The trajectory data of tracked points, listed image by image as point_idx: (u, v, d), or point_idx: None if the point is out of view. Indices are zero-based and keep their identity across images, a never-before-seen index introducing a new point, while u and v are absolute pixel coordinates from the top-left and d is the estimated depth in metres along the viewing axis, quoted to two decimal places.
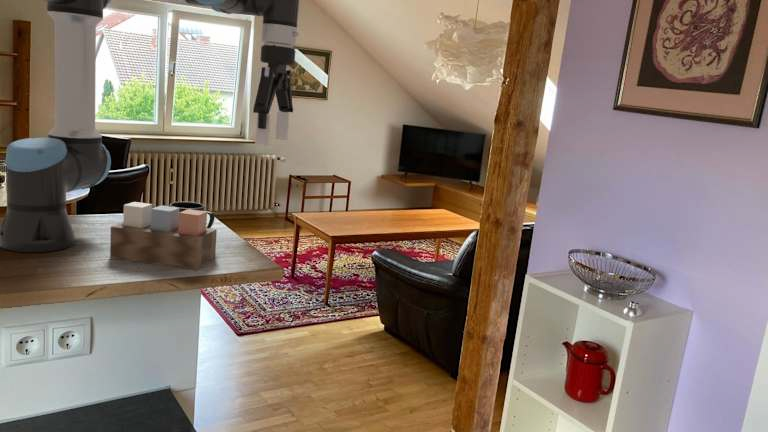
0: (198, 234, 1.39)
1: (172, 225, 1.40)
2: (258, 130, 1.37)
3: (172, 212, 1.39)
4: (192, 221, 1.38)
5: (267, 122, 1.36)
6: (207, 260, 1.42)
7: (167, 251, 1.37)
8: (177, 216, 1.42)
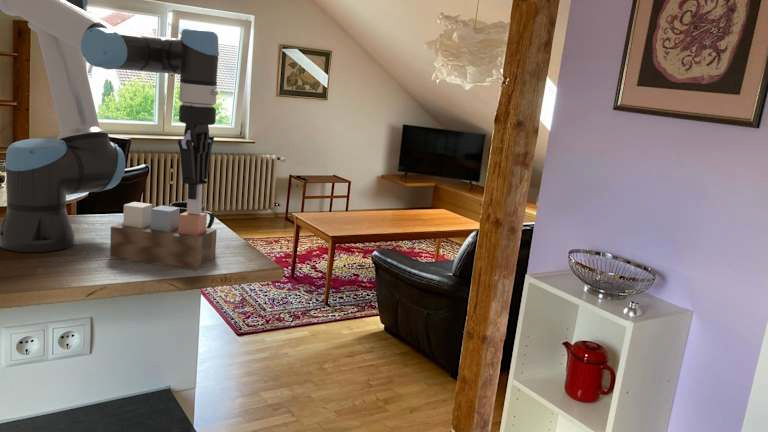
0: None
1: (172, 225, 1.40)
2: (189, 200, 1.38)
3: (172, 212, 1.39)
4: (192, 223, 1.38)
5: (197, 192, 1.38)
6: (207, 260, 1.42)
7: (167, 251, 1.37)
8: (177, 216, 1.42)
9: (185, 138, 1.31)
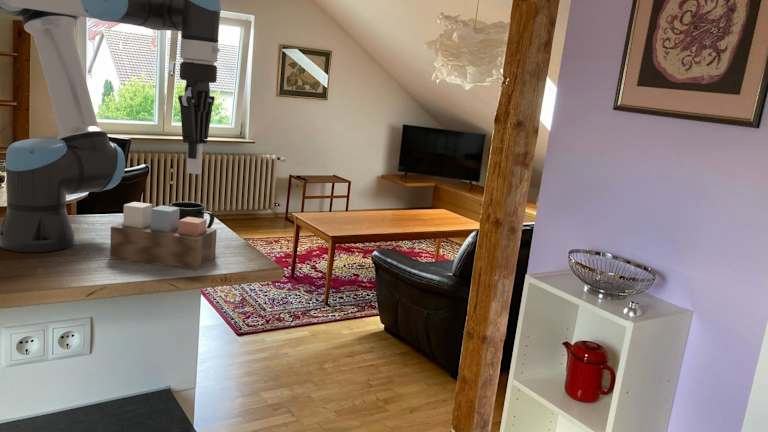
0: None
1: (172, 225, 1.40)
2: (189, 160, 1.37)
3: (172, 212, 1.39)
4: (192, 229, 1.38)
5: (197, 152, 1.36)
6: (207, 260, 1.42)
7: (167, 251, 1.37)
8: (177, 216, 1.42)
9: (186, 95, 1.29)
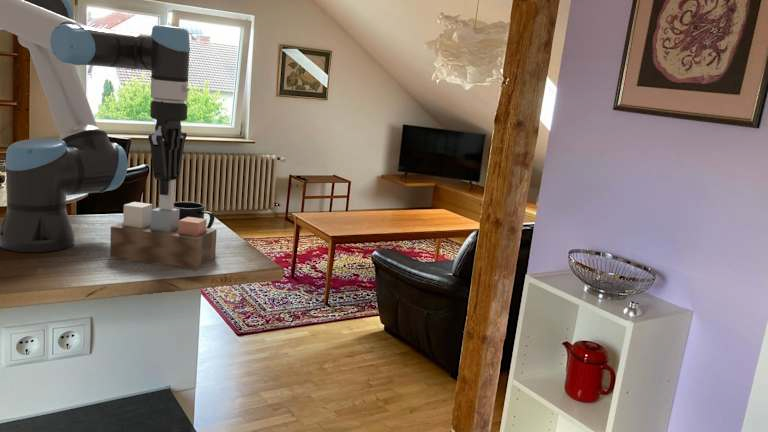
0: None
1: (172, 226, 1.40)
2: (161, 196, 1.39)
3: (172, 213, 1.39)
4: (192, 229, 1.38)
5: (169, 188, 1.39)
6: (207, 260, 1.42)
7: (167, 251, 1.37)
8: (177, 217, 1.42)
9: (156, 134, 1.32)
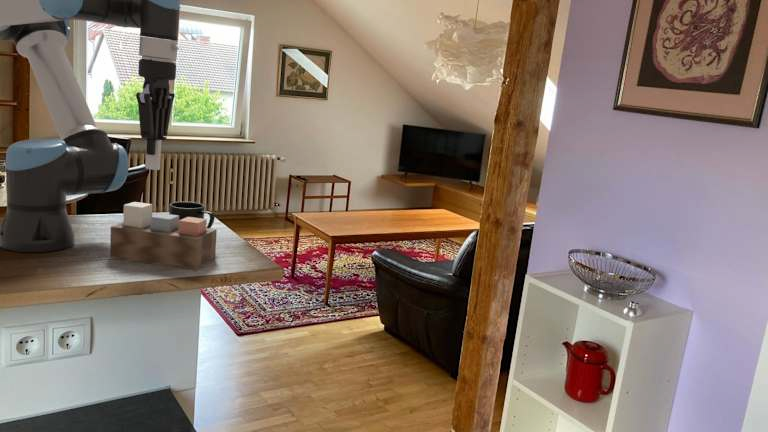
0: None
1: None
2: (147, 156, 1.38)
3: (172, 220, 1.40)
4: (192, 229, 1.38)
5: (156, 148, 1.38)
6: (207, 260, 1.42)
7: (167, 251, 1.37)
8: (177, 224, 1.42)
9: (143, 92, 1.31)
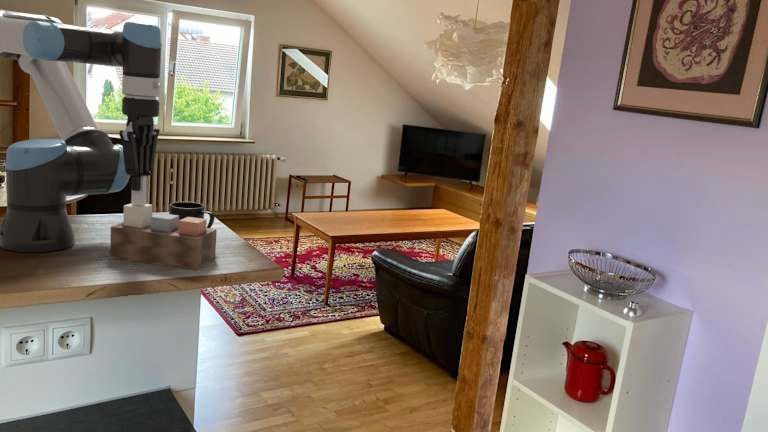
0: None
1: None
2: (133, 192, 1.40)
3: (172, 220, 1.40)
4: (192, 229, 1.38)
5: (141, 184, 1.39)
6: (207, 260, 1.42)
7: (167, 251, 1.37)
8: (177, 224, 1.42)
9: (126, 130, 1.32)
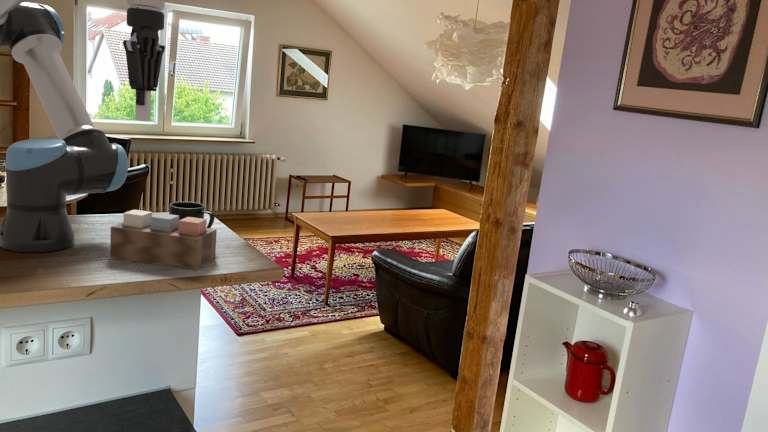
0: None
1: None
2: (137, 107, 1.39)
3: (172, 220, 1.40)
4: (192, 229, 1.38)
5: (145, 99, 1.38)
6: (207, 260, 1.42)
7: (167, 251, 1.37)
8: (177, 224, 1.42)
9: (130, 39, 1.31)
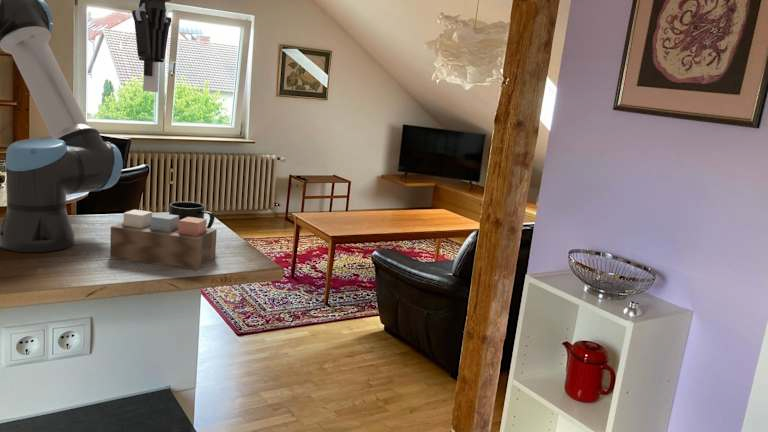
0: None
1: None
2: (145, 78, 1.40)
3: (172, 220, 1.40)
4: (192, 229, 1.38)
5: (153, 70, 1.39)
6: (207, 260, 1.42)
7: (167, 251, 1.37)
8: (177, 224, 1.42)
9: (139, 9, 1.32)
